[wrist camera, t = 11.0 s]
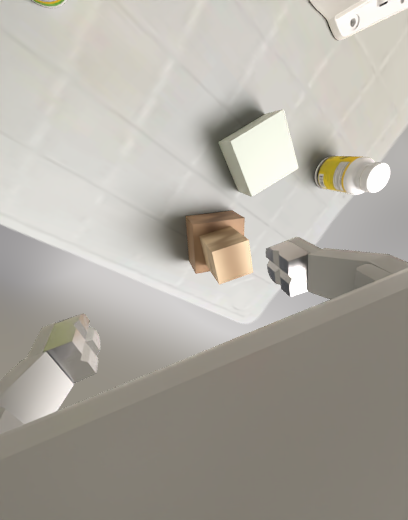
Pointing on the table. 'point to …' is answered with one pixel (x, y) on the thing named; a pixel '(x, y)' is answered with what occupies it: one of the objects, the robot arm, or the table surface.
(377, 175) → the supplement bottle
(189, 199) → the table surface
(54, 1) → the supplement bottle
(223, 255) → the oak block
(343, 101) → the table surface
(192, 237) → the walnut block
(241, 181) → the white block
